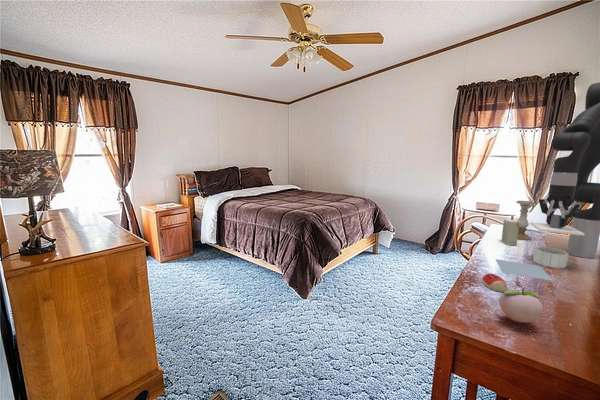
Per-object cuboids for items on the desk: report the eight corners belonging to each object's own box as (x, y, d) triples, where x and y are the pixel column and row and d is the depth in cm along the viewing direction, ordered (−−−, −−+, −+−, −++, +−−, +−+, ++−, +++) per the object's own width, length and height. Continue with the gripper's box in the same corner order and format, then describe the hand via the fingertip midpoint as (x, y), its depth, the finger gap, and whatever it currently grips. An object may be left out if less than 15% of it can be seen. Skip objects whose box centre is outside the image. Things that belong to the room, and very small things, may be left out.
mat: (495, 260, 117) (495, 259, 116) (539, 267, 110) (539, 265, 110) (502, 274, 103) (502, 272, 103) (553, 282, 97) (553, 280, 97)
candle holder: (516, 239, 145) (521, 202, 141) (506, 235, 153) (511, 200, 150) (534, 240, 143) (540, 203, 140) (523, 236, 152) (529, 200, 148)
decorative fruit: (513, 333, 69) (519, 297, 67) (491, 314, 77) (495, 281, 75) (550, 333, 69) (556, 297, 67) (523, 314, 77) (528, 281, 76)
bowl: (530, 258, 119) (532, 245, 118) (559, 262, 115) (562, 248, 114) (537, 266, 111) (539, 252, 110) (570, 271, 106) (572, 256, 105)
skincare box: (516, 246, 135) (520, 222, 133) (507, 245, 136) (510, 221, 134) (509, 242, 141) (513, 219, 139) (500, 241, 142) (503, 218, 140)
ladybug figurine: (491, 292, 90) (493, 283, 89) (476, 279, 99) (477, 270, 99) (513, 294, 89) (514, 284, 88) (495, 280, 99) (496, 271, 98)
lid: (530, 223, 119) (532, 210, 118) (569, 227, 113) (571, 214, 112) (540, 231, 107) (542, 216, 106) (584, 235, 101) (587, 220, 101)
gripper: (592, 185, 102) (583, 229, 104) (548, 181, 115) (541, 221, 118) (579, 186, 99) (571, 231, 102) (536, 182, 112) (530, 222, 115)
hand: (555, 225), depth 110 cm, fingers closed on lid, 3 cm apart
